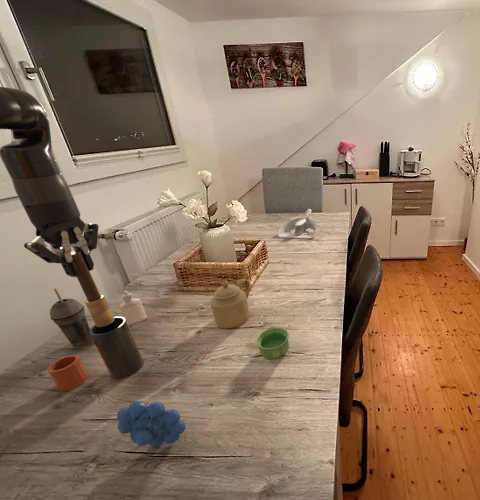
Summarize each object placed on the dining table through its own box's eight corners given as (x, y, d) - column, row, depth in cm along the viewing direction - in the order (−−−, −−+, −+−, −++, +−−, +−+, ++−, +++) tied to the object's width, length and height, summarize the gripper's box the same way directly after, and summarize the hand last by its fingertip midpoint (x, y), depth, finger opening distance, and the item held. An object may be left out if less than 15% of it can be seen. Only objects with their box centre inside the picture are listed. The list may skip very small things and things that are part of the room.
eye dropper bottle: (145, 322, 95) (133, 292, 90) (125, 327, 93) (112, 296, 88) (148, 315, 99) (137, 286, 94) (129, 319, 97) (116, 290, 92)
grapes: (116, 470, 53) (91, 428, 49) (137, 434, 60) (116, 395, 55) (180, 461, 55) (162, 420, 50) (194, 427, 61) (179, 388, 56)
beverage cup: (97, 332, 91) (71, 278, 83) (100, 342, 86) (72, 287, 78) (67, 343, 86) (36, 287, 78) (68, 355, 82) (35, 297, 74)
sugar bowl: (223, 304, 104) (214, 268, 98) (254, 301, 105) (247, 265, 99) (211, 330, 90) (200, 290, 84) (246, 326, 92) (238, 287, 86)
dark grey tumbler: (116, 385, 72) (93, 339, 66) (108, 372, 76) (85, 327, 70) (148, 367, 77) (129, 323, 71) (139, 356, 81) (120, 313, 75)
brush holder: (62, 396, 69) (49, 375, 66) (58, 385, 72) (45, 364, 69) (91, 381, 73) (80, 361, 70) (86, 371, 76) (75, 351, 73)
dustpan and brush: (276, 237, 167) (274, 222, 163) (295, 221, 196) (294, 207, 193) (313, 239, 163) (312, 223, 159) (327, 221, 193) (326, 208, 189)
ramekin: (257, 344, 84) (254, 332, 82) (286, 335, 87) (285, 324, 85) (260, 365, 76) (258, 352, 75) (293, 354, 80) (291, 342, 78)
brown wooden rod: (98, 329, 67) (64, 257, 60) (94, 323, 69) (60, 253, 62) (116, 321, 70) (85, 252, 62) (112, 316, 72) (82, 248, 64)
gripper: (68, 191, 64) (97, 259, 71) (-12, 207, 51) (33, 288, 58) (96, 191, 63) (123, 260, 70) (21, 207, 50) (63, 290, 57)
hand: (82, 272), depth 64 cm, fingers closed on brown wooden rod, 2 cm apart
